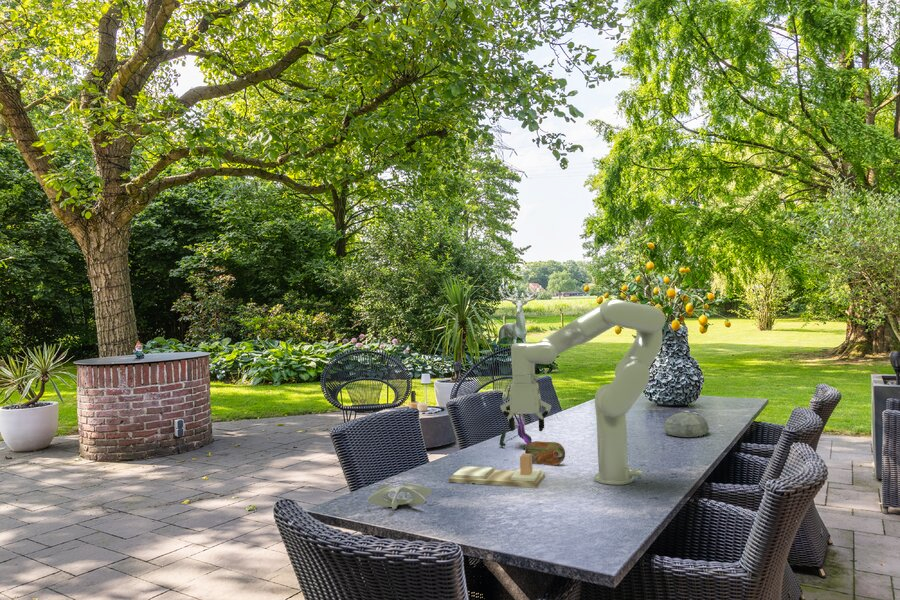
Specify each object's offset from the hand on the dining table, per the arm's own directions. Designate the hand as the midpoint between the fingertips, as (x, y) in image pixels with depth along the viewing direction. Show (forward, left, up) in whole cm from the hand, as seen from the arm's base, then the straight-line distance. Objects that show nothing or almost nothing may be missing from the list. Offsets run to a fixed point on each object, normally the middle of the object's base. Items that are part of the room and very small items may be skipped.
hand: (526, 430), depth 209 cm
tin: (-1, -25, -17) cm, 30 cm away
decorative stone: (-52, -90, -17) cm, 105 cm away
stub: (+1, 0, -15) cm, 15 cm away
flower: (+17, -51, -17) cm, 57 cm away
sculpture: (+32, +34, -17) cm, 50 cm away
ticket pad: (+11, 0, -17) cm, 20 cm away
